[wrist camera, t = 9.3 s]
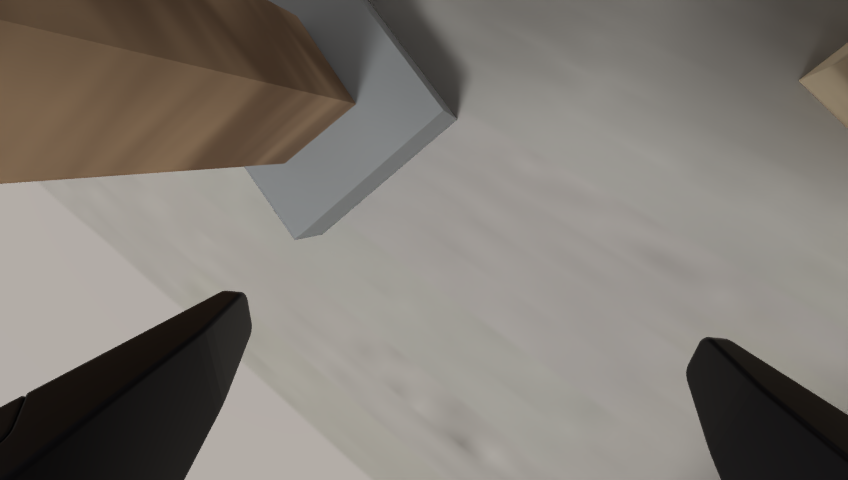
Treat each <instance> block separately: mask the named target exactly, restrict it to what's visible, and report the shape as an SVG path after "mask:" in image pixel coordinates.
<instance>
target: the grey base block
mask: <svg viewBox="0 0 848 480" xmlns="http://www.w3.org/2000/svg"><path fill="white" fill-rule="evenodd" d="M268 1H270V2H272V3H274V4H276V5H278V6H279V7H281V8H283V9H285V10H287V11H289V12H290V13H292V14H294V15H296V16H297V17H298V18H299V20H300V21H301V23H302V24H303V26H304V27H305V29H306V30H307V32H308V33H309V35H310V36H311V38H312V39H313V41H314V42H315V44H316V45H317V47H318V48H319V50H320V51H321V52H322V54H323V55H324V57H325V58H326V60H327V61H328V63H329V64H330V66H331V67H332V69H333V70H334V72H335V73H336V75H337V76H338V78H339V79H340V81H341V82H342V84H343V85H344V87H345V88H346V90H347V91H348V93H349V94H350V96H351V97H352V99H353V100H354V102H355V103H356V104H355V105H354V106H353V107H352V108H351V109H349V110H348V111H347V112H346V113H345V114H343V115H342V116H341V117H340V118H339V119H337V120H336V121H335V122H334V123H333V124H331V125H330V126H329V127H328V128H327V129H325V130H324V131H323V132H322V133H321V134H319V135H318V136H317V137H316V138H315V139H313V140H312V141H311V142H310V143H309V144H307V145H306V146H305V147H304V148H303V149H301V150H300V151H299V152H298V153H297V154H295V155H294V156H293V157H292V158H291V159H289V160H288V161H287V162H286V163H285V164H272V165H257V166H244V167H245V169H246V170H247V172H248V173H249V175H250V176H251V177H252V179H253V180H254V182H255V183H256V185H257V186H258V188H259V189H260V190H261V192H262V193H263V195H264V196H265V198H266V199H267V201H268V202H269V204H270V205H271V206H272V208H273V209H274V211H275V212H276V214H277V215H278V217H279V218H280V219H281V221H282V222H283V224H284V225H285V227H286V228H287V230H288V231H289V232H290V234H291V235H292V237H293V238H294V240H297V239H302V238H307V237H312V236H317V235H322V234H323V233H325V232H326V231H327V230H328V229H329V228H331V227H332V226H333V225H334V224H335V223H336V222H338V221H339V220H340V219H341V218H342V217H343V216H345V215H346V214H347V213H348V212H349V211H350V210H352V209H353V208H354V207H355V206H356V205H357V204H359V203H360V202H361V201H362V200H363V199H364V198H366V197H367V196H368V195H369V194H370V193H372V192H373V191H374V190H375V189H376V188H377V187H379V186H380V185H381V184H382V183H383V182H384V181H386V180H387V179H388V178H389V177H390V176H391V175H393V174H394V173H395V172H396V171H397V170H398V169H400V168H401V167H402V166H403V165H404V164H406V163H407V162H408V161H409V160H410V159H411V158H413V157H414V156H415V155H416V154H417V153H418V152H420V151H421V150H422V149H423V148H424V147H425V146H427V145H428V144H429V143H430V142H431V141H432V140H434V139H435V138H436V137H437V136H438V135H439V134H441V133H442V132H443V131H444V130H445V129H447V128H448V127H449V126H450V125H451V124H452V123H454V122H455V121H456V120H457V118H456V117H455V116H454V114H453V113H452V112H451V110H450V109H449V108H448V106H447V105H446V104H445V102H444V101H443V100H442V98H441V97H440V96H439V94H438V93H437V92H436V90H435V89H434V88H433V86H432V85H431V84H430V82H429V81H428V80H427V78H426V77H425V76H424V74H423V73H422V72H421V70H420V69H419V68H418V66H417V65H416V64H415V62H414V61H413V60H412V58H411V57H410V56H409V54H408V53H407V52H406V50H405V49H404V48H403V46H402V45H401V44H400V42H399V41H398V40H397V38H396V37H395V36H394V34H393V33H392V32H391V30H390V29H389V28H388V26H387V25H386V24H385V22H384V21H383V20H382V18H381V17H380V16H379V14H378V13H377V12H376V10H375V9H374V8H373V6H372V5H371V4H370V2H369V1H368V0H268Z"/></svg>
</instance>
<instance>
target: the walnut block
mask: <svg viewBox="0 0 848 480" xmlns="http://www.w3.org/2000/svg"><path fill="white" fill-rule="evenodd" d="M355 104H356V103H355V102H354V100H353V99H352V97H351V96H350V94H349V93H348V91H347V90H346V88H345V87H344V85H343V84H342V82H341V81H340V79H339V78H338V76H337V75H336V73H335V72H334V70H333V69H332V67H331V66H330V64H329V63H328V61H327V60H326V58H325V57H324V55H323V54H322V52H321V51H320V50H319V48H318V47H317V45H316V44H315V42H314V41H313V39H312V38H311V36H310V35H309V33H308V32H307V30H306V29H305V27H304V26H303V24H302V23H301V21H300V20H299V18H298V17H297V16H296V15H294V14H292V13H290V12H289V11H287V10H285V9H283V8H281V7H279V6H278V5H276V4H274V3H272V2H270V1H268V0H0V184H2V183H17V182H31V181H45V180H60V179H74V178H88V177H102V176H116V175H130V174H144V173H159V172H173V171H187V170H201V169H215V168H229V167H243V166H257V165H272V164H285V163H286V162H287V161H288V160H289V159H291V158H292V157H293V156H294V155H295V154H297V153H298V152H299V151H300V150H301V149H303V148H304V147H305V146H306V145H307V144H309V143H310V142H311V141H312V140H313V139H315V138H316V137H317V136H318V135H319V134H321V133H322V132H323V131H324V130H325V129H327V128H328V127H329V126H330V125H331V124H333V123H334V122H335V121H336V120H337V119H339V118H340V117H341V116H342V115H343V114H345V113H346V112H347V111H348V110H349V109H351V108H352V107H353V106H354V105H355Z"/></svg>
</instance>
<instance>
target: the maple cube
mask: <svg viewBox="0 0 848 480" xmlns="http://www.w3.org/2000/svg"><path fill="white" fill-rule="evenodd" d="M799 82H800V83H801V84H802V85H803V86H804V87H805V88H807V89H808V90H809V91H810V92H811V93H812V94H813V95H814V96H815V97H816V98H817V99H818V100H819V101H820V102H821V103H822V104H823V105H824V106H825V107H826V108H827V109H828V110H829V111H830V112H831V113H832V114H833V115H834V116H835V117H836V118H837V119H838V120H839V121H840V122H841V123H842V124H844V125H845V126H846V127H847V128H848V43H846V44H845V45H844V46H842V47H841V48H840V49H839V50H837V51H836V52H835V53H833V54H832V55H831V56H830V57H828V58H827V59H826V60H824V61H823V62H822V63H821V64H819V65H818V66H817V67H815V68H814V69H813V70H812V71H810V72H809V73H808V74H806V75H805V76H804V77H803V78H801V79H800V80H799Z"/></svg>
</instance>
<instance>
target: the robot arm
mask: <svg viewBox="0 0 848 480" xmlns="http://www.w3.org/2000/svg"><path fill="white" fill-rule="evenodd" d="M251 329H252V323H251V317H250V312H249V306H248V300H247V297H246V295H245V294H244V293H242V292H235V291H222V292H220V293H218V294H216V295H214V296H212V297H210V298H208V299H207V300H205V301H203V302H201V303H199V304H197V305H195V306H193V307H191V308H189V309H187V310H186V311H184V312H182V313H180V314H178V315H176V316H174V317H172V318H170V319H168V320H166V321H165V322H163V323H161V324H159V325H157V326H155V327H153V328H151V329H149V330H147V331H145V332H144V333H142V334H140V335H138V336H136V337H134V338H132V339H130V340H128V341H126V342H125V343H122V344H121V345H119V346H117V347H115V348H113V349H111V350H109V351H107V352H105V353H103V354H101V355H100V356H98V357H96V358H94V359H92V360H90V361H88V362H86V363H84V364H82V365H80V366H78V367H77V368H75V369H73V370H71V371H69V372H67V373H65V374H63V375H61V376H59V377H58V378H55V379H54V380H52V381H50V382H48V383H46V384H44V385H42V386H40V387H38V388H36V389H34V390H33V391H31V392H29V393H27V395H26V397H24V396H21V397H19V398H17V399H15V400H13V401H11V402H9V403H8V404H6V405H4V406H2V407H0V480H184V479H185V477H186V475H187V473H188V471H189V469H190V468H191V466H192V464H193V462H194V460H195V458H196V456H197V454H198V452H199V450H200V448H201V446H202V445H203V443H204V441H205V439H206V437H207V435H208V433H209V431H210V429H211V427H212V425H213V423H214V422H215V420H216V417H217V416H218V414H219V412H220V410H221V407H222V406H223V403H224V401H225V399H226V396H227V394H228V392H229V389H230V386H231V384H232V381H233V379H234V376H235V373H236V371H237V368H238V366H239V363H240V361H241V358H242V355H243V353H244V350H245V348H246V345H247V343H248V340H249V337H250V334H251ZM686 376H687V381H688V385H689V388H690V391H691V394H692V397H693V401H694V404H695V407H696V410H697V413H698V417H699V420H700V423H701V426H702V429H703V433H704V436H705V439H706V442H707V445H708V448H709V451H710V454H711V456H712V459H713V461H714V464H715V466H716V469H717V471H718V473H719V476H720V478H721V480H848V415H847V414H845V413H844V412H842V411H841V410H839V409H838V408H836V407H834V406H833V405H831V404H830V403H828V402H826V401H825V400H823V399H822V398H820V397H819V396H817V395H815V394H814V393H812V392H811V391H809V390H808V389H806V388H804V387H803V386H801V385H800V384H798V383H797V382H795V381H793V380H792V379H790V378H789V377H787V376H786V375H784V374H782V373H781V372H779V371H778V370H776V369H775V368H773V367H771V366H770V365H768V364H767V363H765V362H764V361H762V360H760V359H759V358H757V357H756V356H754V355H753V354H751V353H749V352H748V351H746V350H745V349H743V348H742V347H740V346H738V345H737V344H735V343H734V342H732V341H730V340H728V339H724V338H713V337H706V338H703V339H702V340H701V341H700V343H699V345H698V347H697V349H696V351H695V352H694V354H693V356H692V358H691V360H690V362H689V364H688V367H687V371H686Z"/></svg>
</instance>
